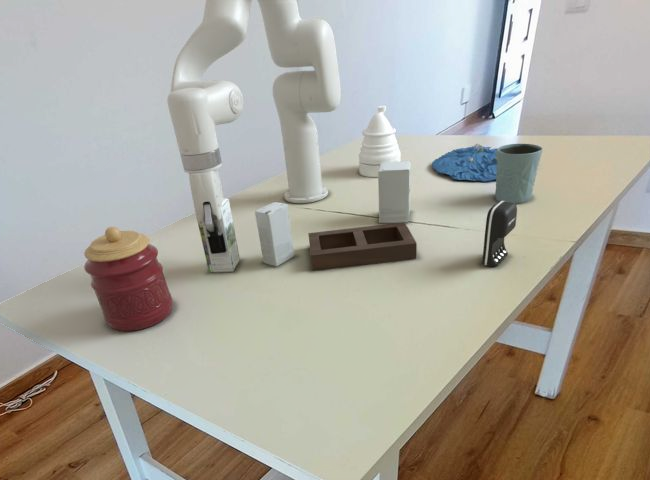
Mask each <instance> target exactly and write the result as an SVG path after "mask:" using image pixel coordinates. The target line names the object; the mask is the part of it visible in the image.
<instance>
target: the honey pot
mask: <svg viewBox="0 0 650 480" xmlns="http://www.w3.org/2000/svg"><path fill="white" fill-rule="evenodd" d="M377 111H378V112H376V113H374V115H373V116H372V117H371V119H370V120H369V123H368V125H367V128H365V129H364V130H363V131H362V132H361V134H362V136H363V140H362V143H361V147H360V152H359V154H358V171H359V175H361V176H363V177H368V178H378V171H379V167H380V164H381V163H383V162H398V161H402V159H401V157H402V156H401V154H402V152H401V150H400V148H399V144H398V140H397V138H396V134H395V133H396V131H397V129H396V128H395V127H393V126H392V125H391V123H390V121H389V120H388V118H387V116H385V113H386V111H387V105H379V106H377Z"/></svg>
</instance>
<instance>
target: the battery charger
mask: <svg viewBox="0 0 650 480" xmlns="http://www.w3.org/2000/svg"><path fill="white" fill-rule="evenodd" d="M517 215H518V206H517V204H514V203H512V202H505V201H497V202H495V203H494V205H492V206H491V207H490V208H489V209H488V211H487V214H486V219H485V221H486V222H485V230H484V239H483V252H482V259H481V264H482V265H484V266H491V267H498V266H499V265H500V264H501V263H502V262H503V261H504V260H505V259H506V258H507V257H508V255H509V253H508V251H507V248H506V246H505V238H506V237H507V236H508V235H509V234H510V233H511V232H512V231H513V230H514V229H515V227H516V226H517V217H518V216H517Z"/></svg>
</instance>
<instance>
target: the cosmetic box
mask: <svg viewBox="0 0 650 480" xmlns="http://www.w3.org/2000/svg"><path fill="white" fill-rule="evenodd" d="M254 215H255V221H256V227H257V232H258V239H259V244H260V249H261V256H262V262H263V263H264V264H266V265H269V266H272V267H278V266H280V265H282V264H284V263H286V262H287V261H288V260H291V259H292V258H294V257H295V251H294V243H293V236H292V228H291V227H292V226H291V220H290V212H289V205H288V204H287V203H283V202H277V201H273V202H271V203H269V204H267V205H265V206H263V207H260V208H258V209H257V210H255V211H254Z"/></svg>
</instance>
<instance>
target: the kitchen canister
mask: <svg viewBox="0 0 650 480" xmlns="http://www.w3.org/2000/svg"><path fill="white" fill-rule="evenodd" d="M150 242H151V241H150V238H149V236H147V235H146V234H143V233H139V232H138V231H134V230H120V229H119V228H118V227H116V226H109V227H107V228H106V229H105V231H104V235H101V236H99V237H97V238H95V239H94V240H93V241H92V242H91V243H90V245H89V246H88V247H87V248H85V250H84V252H83V254H84V255H83V256H84V258H85V259H87V260H86V261H85V262H84V266H83V269H84V271H85V272H86V274H88V275H90V278H91V281H90V287H91V288H92V290H93V291H94V294H95V297H96V299H97V301H98V303H99V305H100V308H101V311H102V316H103V318H104V321H106V323H107V324H108V327H110V328H112V329H113V330H117V331H121V332H133V331H139V330H143V329H147V328H149V327H153V326H155V325H157V324H159V323H160V322H162V321H164V320H165V319H166V318H168V317H169V316H170V315H171V313H172V311H173V308H174V305H173V297H172V293H171V291H170V290H169V287H168V283H167V280H166V276H165V273H164V266H163V264H162V263H161V262H159V260H158V254H159V249H158V248H157V247H156V246H155V245H153V244H150Z"/></svg>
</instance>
